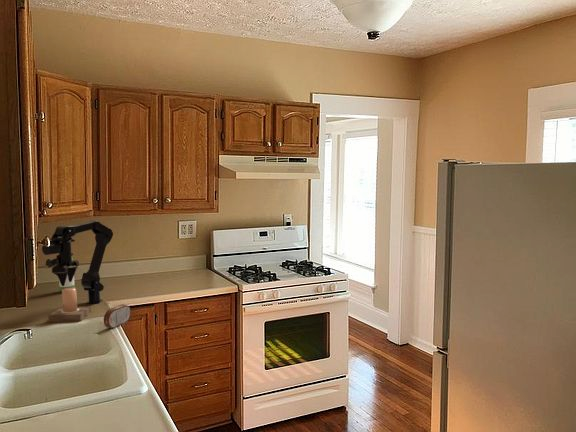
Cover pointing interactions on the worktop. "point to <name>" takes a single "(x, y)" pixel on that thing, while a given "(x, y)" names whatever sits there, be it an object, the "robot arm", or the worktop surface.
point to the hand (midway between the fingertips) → (66, 283)
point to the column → (69, 299)
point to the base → (69, 315)
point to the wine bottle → (67, 283)
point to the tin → (117, 316)
